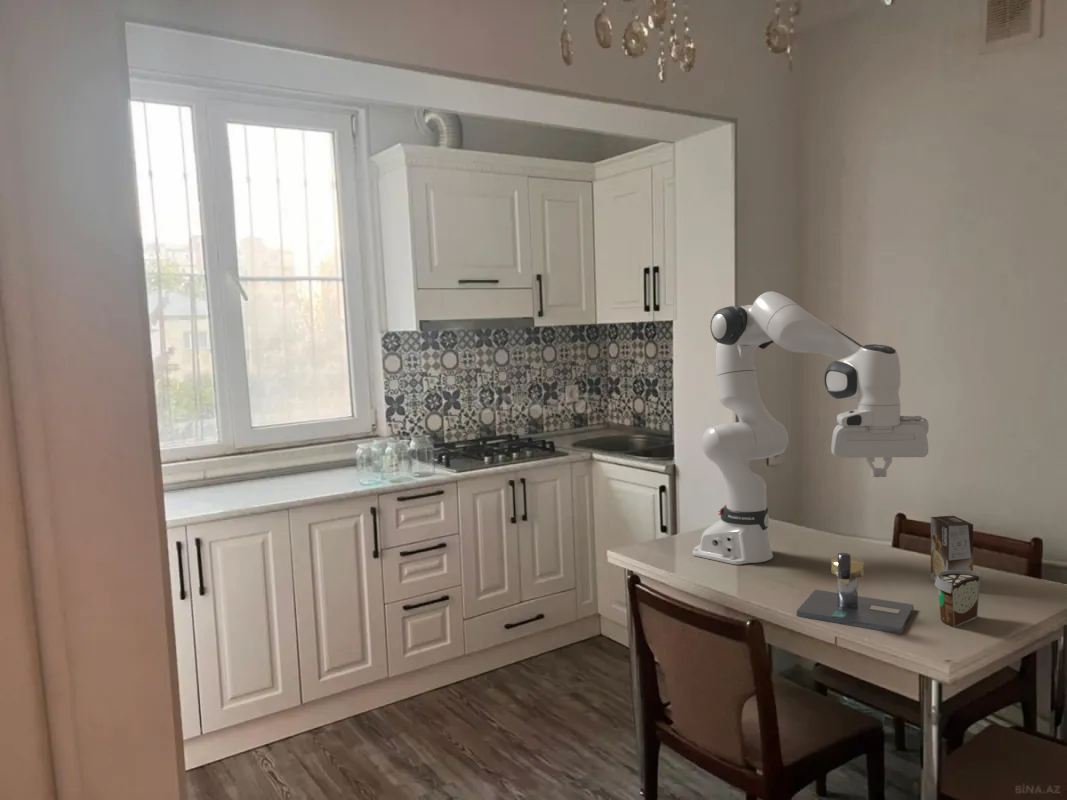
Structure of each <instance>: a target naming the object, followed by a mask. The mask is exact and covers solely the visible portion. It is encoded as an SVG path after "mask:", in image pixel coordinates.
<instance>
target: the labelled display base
mask: <svg viewBox="0 0 1067 800" xmlns="http://www.w3.org/2000/svg"><path fill="white" fill-rule="evenodd" d="M836 577H837V579H836V580H837V584H836V585H837V589H836V590H837V592H833V591H826V590H820V589H814V591H812V593H811V594H809V596H808V597H807V599H805V600H804V602H803V603H802V604H801V605H800V606H799V608H798V609H797V610H796V616H797V617H800V618H801V617H802V618H808V619H813V620H817V621H824V622H830V623H835V624H840V625H847V626H852V627H858V628H864V629H871V630H875V631H881V632H887V633H892V634H899V635H902V634H903V632H904V630H905V628H906V626H907V624H908V623H909V620H910V618H911V616H912V614H913V612H914V609H915V607H914V606H915V605H914V604H912V603H905V602H898V601H892V600H885V599H879V598H873V597H868V596H860V595H859V577H857V578H850V579H849V583H841V582H840V578H838V576H836Z"/></svg>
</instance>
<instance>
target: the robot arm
mask: <svg viewBox="0 0 1067 800" xmlns="http://www.w3.org/2000/svg"><path fill="white" fill-rule="evenodd" d="M709 327H710V332H711V336H712V338H713V340H715V342H716V343H717V344H716V347H715V373H716V374H715V376H716V382H717V388H718V396H719V397H718V398H719V401H720V402H721V405H722V406H724V407H725V408H726V409H729V410H731V411H733V413H735V415H736V416H737V418H738V420H739V421H737V422H736V421H735V422H726V423H720V424H717V425H714V426H710V427H708V428H706V430H705V431H704V433H703V435H702V438H701V447H702V448H701V449H702V451H703V453H704V455H705V456H706V458H708V459H709V460H710V461H711V462H712V463H714V464H715V465H716V466H717V468H718V469H719V470H720V472H721V474H722V476H723V479H724V485H725V486H724V487H725V495H726V496H725V498H726V500H725V501H726V502H725V503H726V504H725V505H723V506H722V508H720V510H719V511H718V515H719V516H720V519H719V520H718V519H717V521H716V522H714V523H713V524H711V525H710V526H708V527H707V528H706V529H705V530H704V531H703V532H702V534H701V538H700V543H699V544H697V545H696V546H695V547H694V548H693V550H692V555H693V556H695V557H698V558H704V559H708V560H713V561H717V562H723V563H726V564H731V565H736V566H737V565H738V566H740V565H743V564H744V565H745V564H756V563H763V562H768V561H770V560H772V559H773V558H774V555H773V550H772V548H771V543H770V540H769V538H770V537H769V529H768V528H769V521H770V519H769V516H770V515H769V508H768V507H767V483H766V481H765V479H764V478H763V477H762V476H761V475H759V474H758V473H756V472H754V471H752V470H751V468H750V463H749V462H750V460H751V461H753V460H759V459H760V460H761V459H769V458H772V457H775V456H778V455H782V454H783V453H784V452H785V451H786V450H787V447H788V444H789V433H788V431H787V429H786V427H785V425H784V424H783V423H781V422H780V421H778V420H777V419H775V417H774V416H773V415H772V414H771V413H770V412H769V410H768V409H767V408H766V406H765V404H764V402H763V400H762V397H761V393H760V388H759V383H758V377H757V370H756V363H755V351H756V350H757V348H760V349H762V350H765V349H766V348H767V347H768V346H770V345H771V344H773V343H774V344H776V345H777V346H779V347H781V348H782V349H785V350H786V351H789V352H793V353H805V354H818V355H823V356H827V357H831V358H833V359H835V360H834V361H831V363H829V364H828V366H827V368H826V369H825V372H824V377H823V379H824V380H823V381H824V386H825V390H826V391H827V393H828V394H829V395H830V396H831V397H833V398H834V399H838V400H843V401H844V400H858V401H857V408H854V409H851V410H850V409H849V410H848V411H845V412H841V413H838V414H837V415H836V422H837V423H838V424H837V425H836V426H835V427H834V429H833V432H832V437H831V450H830V452H831V454H832V455H833V456H834V457H835V458H838V459H840V458H841V459H842V458H843V459H845V458H847V459H849V458H850V459H851V458H853V459H854V458H856V459H857V458H864V459H865V461H866V463H867V464H868V466H869V467H870V469H871V471H870V472H871V474H870V475H871V477H872V478H874V477H875V478H879V477H880V478H881V477H882V478H883V477H884V478H887V471H888V468H889V467H890V465H891V464H892V463H893V458H925V457H926V456H927V455H928V454H929V443H928V442H929V441H928V436H927V434H928V433H929V427H930V425H929V421H928V420H927V418H925V417H922V416H921V415H913V416H911V415H901V399H900V396H899V395H900V394H899V391H900V387H901V364H900V358H899V354H898V352H897V350H896V349H895V348H894V347H893V346H892V347H891V346H889V345H884V344H875V343H874V344H865V345H862V344H861V343H859V342H857V341H856V340H855V339H853V338H852V337H850V336H848V335H847V334H845V333H843V332H842V331H840V330H838V329H837V328H834V326H831V325H829V324H828V323H826V322H823V321H822V320H820V319H819V318H817V317H816V316H814V315H813V314H811V313H810V312H808V311H807V310H806V309H804V308H803V307H802V306H800V305H799V304H798V303H797V302H796V301H793V299H791V298H789V297H787V296H785V295H784V294H781V293H779V292H776V291H766V292H764V293H762V294H761V295H759V296H757V298H755V300H754V301H753V304H746V305H740V306H739V305H738V306H732V305H730V306H726V307H725V306H724V307H722V308H719V309H717V310H716V311H715V312H714V313H713V315H712V318H711V320H710V326H709ZM875 458H883V459H882V460H883V462H884V463H883V465H882V467H875V465H874V464H873V463H875V462H876V461H875Z"/></svg>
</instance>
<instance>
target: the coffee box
mask: <svg viewBox="0 0 1067 800" xmlns="http://www.w3.org/2000/svg"><path fill="white" fill-rule="evenodd" d="M973 569H974V523H971V522H968V521H966V520H964V519H962V518H961V517H960V518H959V517H958V516H955V515H940V516H939V515H938V516H931V517H930V578H931V579H932V580H934V582H935V581H936V577H937V576H938V574H939V573H940V572H943V571H948V570H966V571H974V570H973Z"/></svg>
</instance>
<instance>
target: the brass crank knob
mask: <svg viewBox="0 0 1067 800" xmlns="http://www.w3.org/2000/svg"><path fill="white" fill-rule="evenodd" d="M830 560H831V561H830V562H831V565H830V567H831V571H830V572H831V573H832V574H833V575H834V576H836V577H837V576H838V578H840V582H841V583H849V579H850V578H857V577H858V578H861V577H863V576H864V575H865V561H864V560H863V559H861V558H858V557H853V556H851V554H850V553H848V552H847V553H846V552H839V553H837V556H836V557H833V558H831V559H830Z"/></svg>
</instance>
